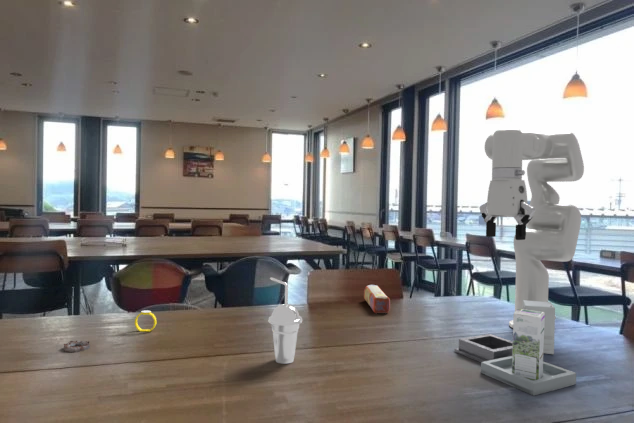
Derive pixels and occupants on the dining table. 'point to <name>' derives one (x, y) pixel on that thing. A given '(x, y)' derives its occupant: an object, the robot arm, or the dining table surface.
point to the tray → (548, 381)
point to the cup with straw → (284, 329)
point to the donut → (76, 346)
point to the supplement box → (549, 322)
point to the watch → (145, 314)
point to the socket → (485, 347)
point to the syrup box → (528, 343)
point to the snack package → (376, 299)
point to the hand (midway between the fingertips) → (505, 238)
